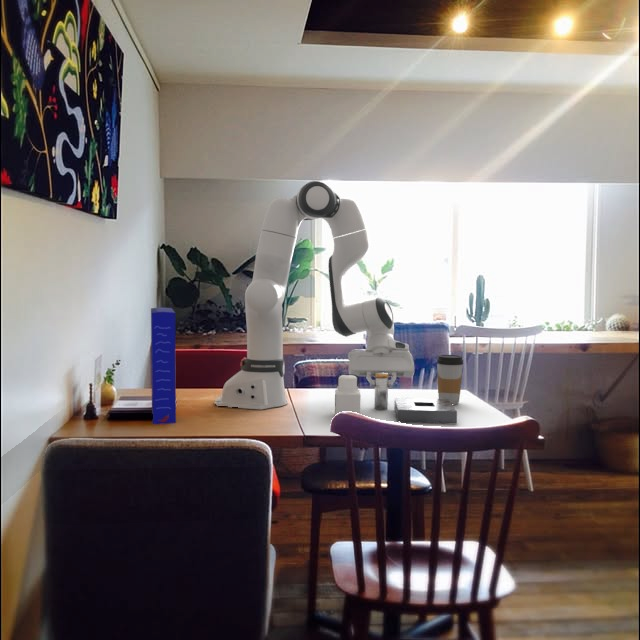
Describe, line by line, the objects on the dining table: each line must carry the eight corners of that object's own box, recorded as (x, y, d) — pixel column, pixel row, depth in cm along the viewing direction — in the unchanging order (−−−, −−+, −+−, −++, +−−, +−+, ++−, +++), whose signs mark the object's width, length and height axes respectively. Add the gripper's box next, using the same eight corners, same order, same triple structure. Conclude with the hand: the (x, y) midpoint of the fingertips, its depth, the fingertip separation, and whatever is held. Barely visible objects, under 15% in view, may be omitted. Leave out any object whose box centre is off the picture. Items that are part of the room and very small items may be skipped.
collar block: (397, 422, 167) (398, 409, 167) (394, 409, 183) (394, 398, 183) (456, 423, 166) (457, 411, 166) (448, 410, 182) (448, 399, 182)
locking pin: (374, 409, 183) (375, 373, 182) (374, 406, 187) (374, 371, 186) (388, 410, 182) (388, 373, 182) (387, 407, 186) (388, 371, 186)
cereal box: (175, 422, 164) (175, 311, 162) (152, 424, 162) (151, 311, 160) (172, 406, 185) (171, 307, 182) (151, 407, 183) (150, 307, 181)
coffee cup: (462, 406, 189) (464, 358, 188) (435, 404, 191) (436, 357, 190) (461, 400, 197) (463, 355, 196) (435, 399, 199) (436, 354, 198)
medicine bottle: (334, 413, 178) (335, 372, 177) (359, 413, 178) (360, 372, 177) (334, 418, 171) (335, 376, 170) (360, 419, 171) (360, 376, 170)
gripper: (348, 343, 191) (347, 379, 182) (413, 344, 189) (416, 381, 180) (348, 355, 195) (347, 391, 186) (412, 357, 194) (414, 393, 185)
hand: (381, 386), depth 183 cm, fingers closed on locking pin, 4 cm apart
